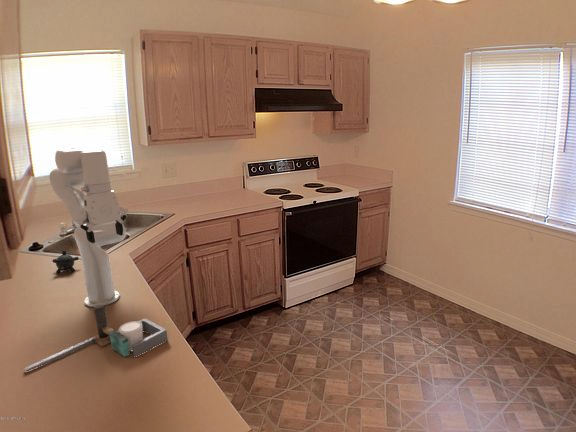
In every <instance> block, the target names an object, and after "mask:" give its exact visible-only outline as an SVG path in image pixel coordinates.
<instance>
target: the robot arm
mask: <svg viewBox="0 0 576 432" xmlns="http://www.w3.org/2000/svg"><path fill="white" fill-rule="evenodd" d="M54 160H55V165H56V167H57V168H54V169H53V170H51V171H50V172H49V175H48V177H49V182H50V186H51V188H52V190H53V192H54V193H55V195H56V196H57V197H58V198H59V199H60V200H61V202H62V203H63V204H64V206H65V208H66V210H67V213H68V215H69V217H70V219H71V221H72V224H74V226H75V229H74V232H73V233H74V234H73V235H74V240H75V241H76V242H75V243H76V245H77V247H78V251H79V254H80V259H81V265H82V269H83V274H84V281H85V282H84V283H85V285H86V291H87V292H86V293H87V296H86V297H85V299H84V306H87V307H91V308H94V307H96V306H98V305H104V307H106V306H108V305H110V304H113V303H115V302H116V301H118V300H119V299H120V293H119V291H117V290H115V285H114V279H113V273H112V272H113V271H112V268H111V266H112V265H111V261H110V255H109V254H108V252H106V251H105V250H104V249H103V248H101V247H102V246H105V245H110V244H114V243H119V242H122V241H123V240H124V239H125V237H126V234H127V233H126V228H125V225H124V222H125V220H126V218H127V214H128V212H129V210H128V208H124V207H121V206H120V205H119V201H118V197H117V195H116V192H115V190H112V185H111V177H110V173H109V172H110V171H109V165H108V159H107V154H106V151H104V150H103V149H102V148H99V147H96V146H95V145H91V144H87V145H75V146H74V145H72V146H65V147H63V148H62V149H58V150H56V152H55V157H54ZM82 186H83V187H82ZM75 187H81V188H80V190H79V189H77V188H75Z"/></svg>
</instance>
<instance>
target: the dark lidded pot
mask: <svg viewBox="0 0 576 432" xmlns="http://www.w3.org/2000/svg"><path fill="white" fill-rule="evenodd" d="M76 261H79V257H78V256H75V257H73V256H71V254H68V253H67V250H66V249H62V251H61V255H59V256H58V257H57V258H53V259H52V263H55V266H56V267H57V269H56V270H55V273H56V275H58V274H60V273H61V272H64V271H71V272H72V273H74V272H75V271H76V269H75V268H74V265H75V262H76Z"/></svg>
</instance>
